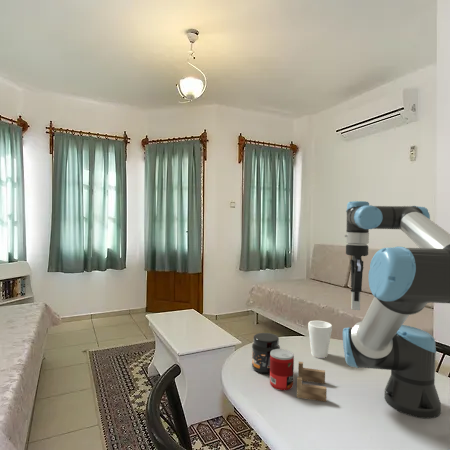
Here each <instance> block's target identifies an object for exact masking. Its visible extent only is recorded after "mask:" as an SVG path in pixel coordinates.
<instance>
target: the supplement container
mask: <svg viewBox="0 0 450 450" xmlns="http://www.w3.org/2000/svg"><path fill="white" fill-rule="evenodd" d="M252 341H253V343H252V345H251V347H252V349H251V350H252V351H251V352H252V354H251V356H252V357H251V359H252V360H251V367H252V368H253V370H254V371H255V372H258V373H260V374H267V375H270V352H271V351H272V350H274V349H281V345H280V344H279V343H280V338H279V336H278V335H277V334H274V333H271V332H259V333H256V334H254V335H253V340H252Z"/></svg>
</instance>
